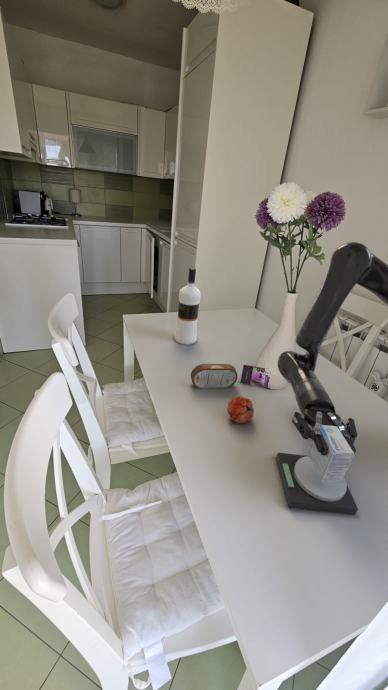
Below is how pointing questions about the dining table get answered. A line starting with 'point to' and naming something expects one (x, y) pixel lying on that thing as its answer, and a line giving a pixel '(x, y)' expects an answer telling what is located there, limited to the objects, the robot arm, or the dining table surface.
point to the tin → (214, 375)
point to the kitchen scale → (312, 487)
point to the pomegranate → (240, 409)
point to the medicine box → (331, 455)
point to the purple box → (253, 375)
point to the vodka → (188, 311)
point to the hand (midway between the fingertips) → (338, 453)
